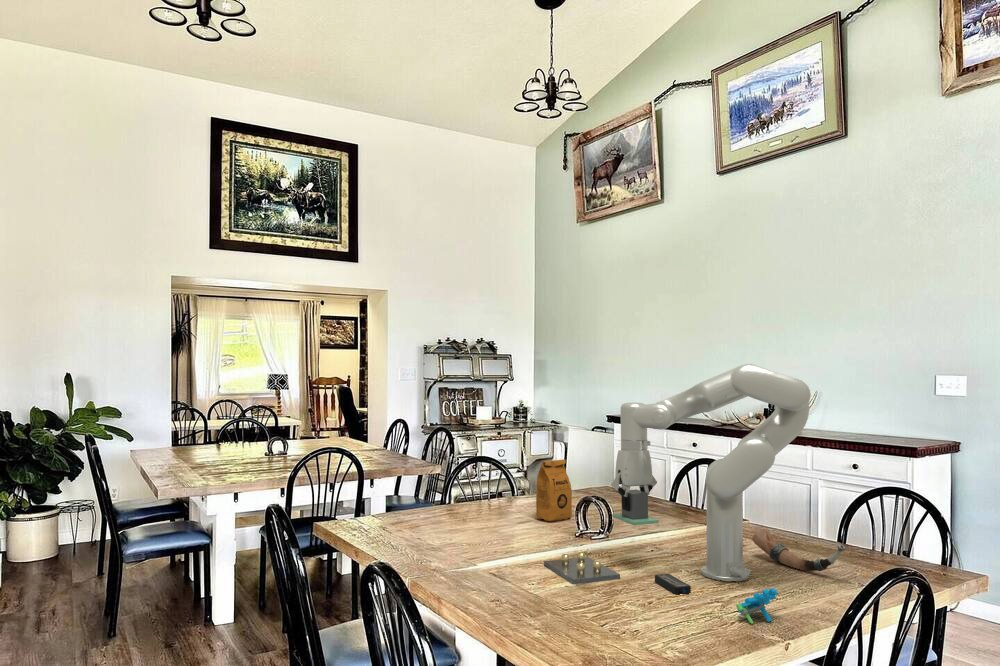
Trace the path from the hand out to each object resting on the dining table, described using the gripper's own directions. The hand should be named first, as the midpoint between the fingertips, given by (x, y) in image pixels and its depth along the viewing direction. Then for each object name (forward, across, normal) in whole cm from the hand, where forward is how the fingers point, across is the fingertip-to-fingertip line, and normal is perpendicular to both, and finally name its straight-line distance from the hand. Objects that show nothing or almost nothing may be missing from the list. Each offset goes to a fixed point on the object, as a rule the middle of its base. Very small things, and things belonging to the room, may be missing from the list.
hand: (634, 508), depth 198 cm
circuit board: (+3, 0, 0) cm, 3 cm away
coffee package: (+16, -5, -61) cm, 64 cm away
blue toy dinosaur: (+17, -4, +44) cm, 48 cm away
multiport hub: (+17, +2, +20) cm, 26 cm away
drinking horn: (+17, -43, +18) cm, 49 cm away
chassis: (+16, +17, 0) cm, 24 cm away
